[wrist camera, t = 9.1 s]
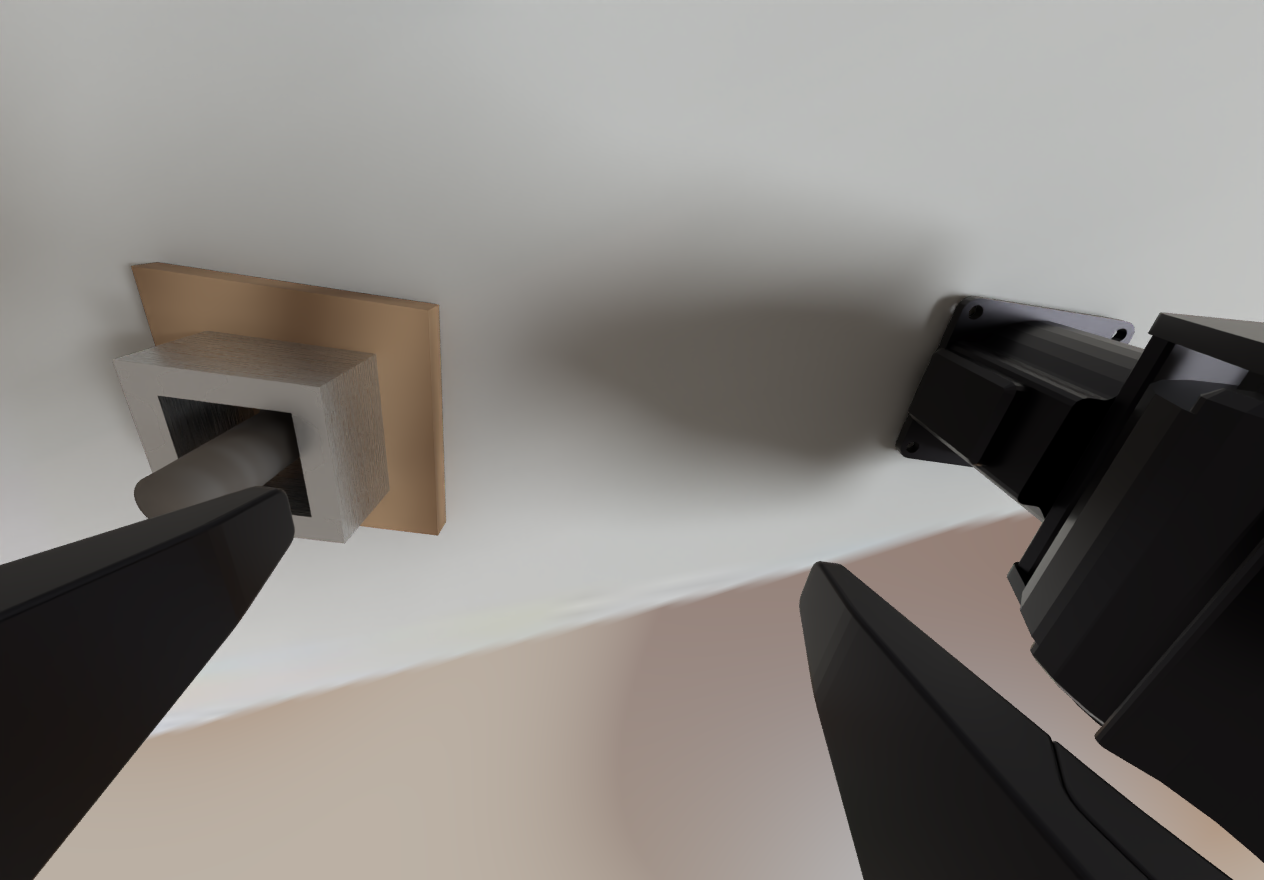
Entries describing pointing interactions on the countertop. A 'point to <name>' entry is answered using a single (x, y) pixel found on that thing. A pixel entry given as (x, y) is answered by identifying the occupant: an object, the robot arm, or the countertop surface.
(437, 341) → the keeper
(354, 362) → the grey square socket
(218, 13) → the countertop surface
